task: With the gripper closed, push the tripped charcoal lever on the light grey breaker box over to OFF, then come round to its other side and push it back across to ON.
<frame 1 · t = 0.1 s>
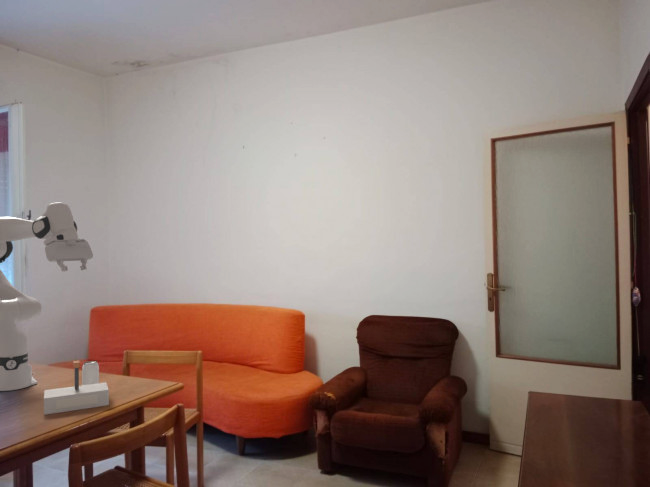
hand: (74, 270, 205), 52 cm above the table, tool tilted 20°, fingers open, 8 cm apart
can: (90, 391, 212), on the table
breaker box: (76, 405, 192), on the table
lever: (76, 375, 192), point 12 cm above the table, hinge at 0.0°
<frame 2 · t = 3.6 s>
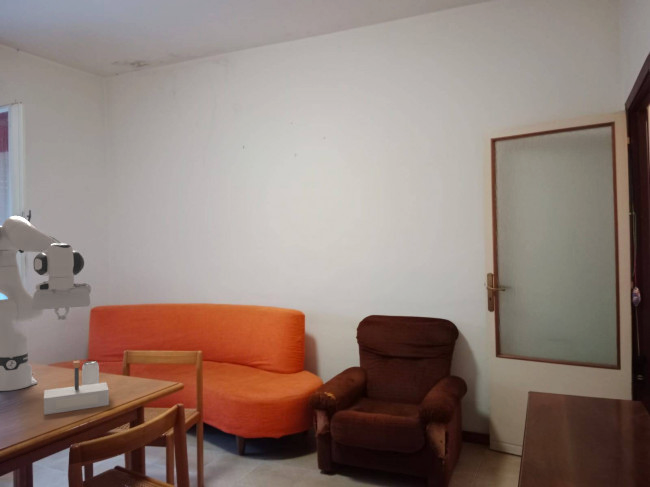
hand: (62, 319, 194), 33 cm above the table, tool pointing down, fingers closed
nothing on the table moved.
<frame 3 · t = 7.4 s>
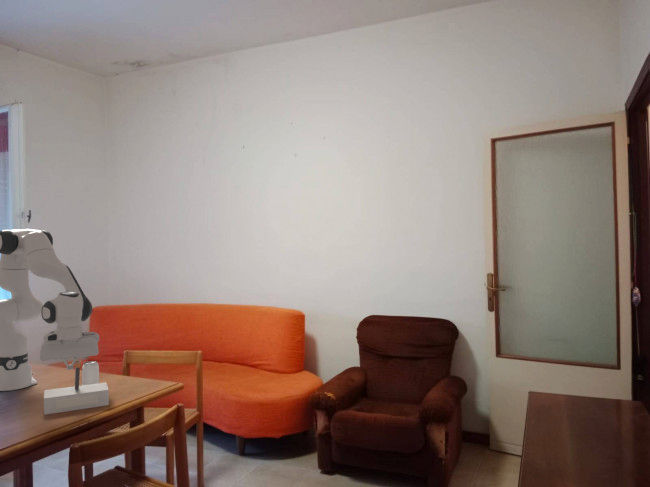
hand: (70, 369, 191), 14 cm above the table, tool pointing down, fingers closed
lever: (77, 375, 193), point 12 cm above the table, hinge at 2.5°, touching gripper
everything else where it was.
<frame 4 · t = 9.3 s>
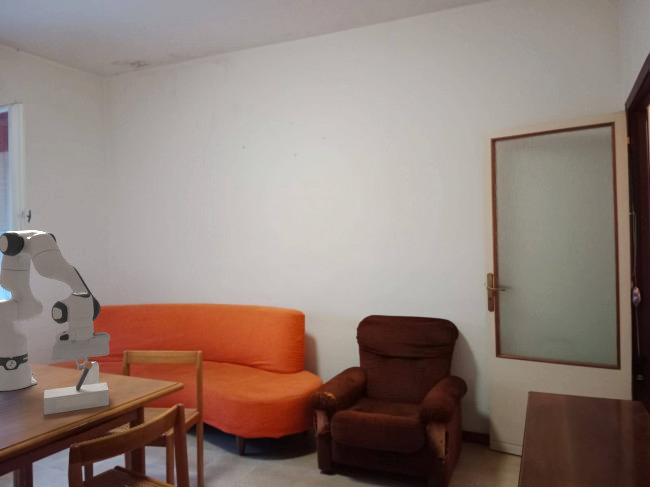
hand: (81, 369, 193), 14 cm above the table, tool pointing down, fingers closed
lever: (83, 376, 194), point 11 cm above the table, hinge at 25.5°, touching gripper
everything else where it was.
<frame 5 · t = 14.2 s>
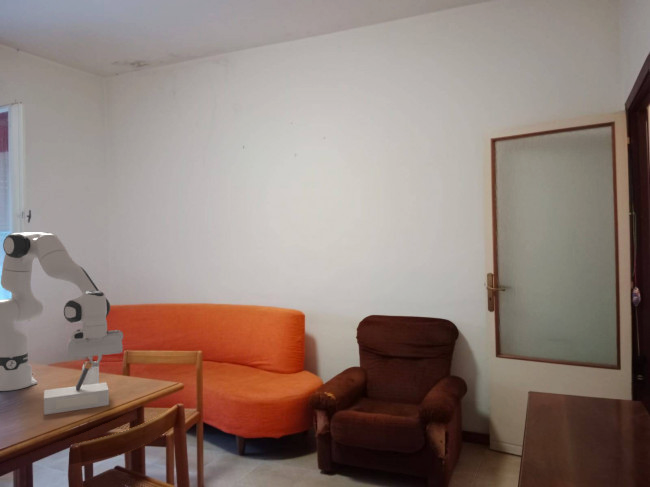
hand: (95, 366, 196), 14 cm above the table, tool pointing down, fingers closed
lever: (83, 375, 194), point 11 cm above the table, hinge at 24.0°, touching gripper
everything else where it was.
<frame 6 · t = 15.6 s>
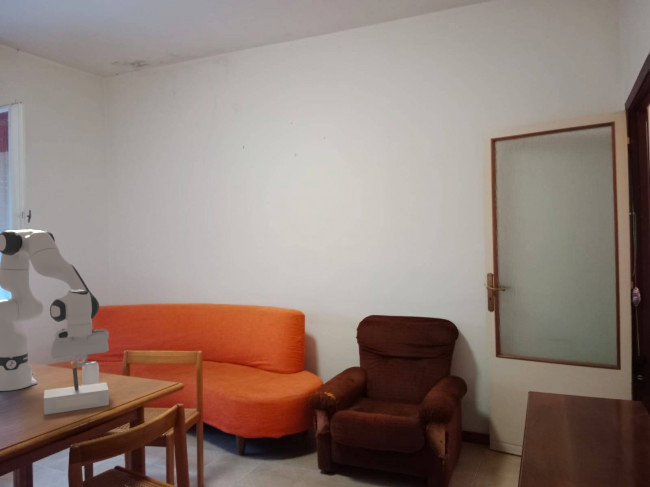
hand: (80, 366, 193), 15 cm above the table, tool pointing down, fingers closed
lever: (75, 375, 192), point 12 cm above the table, hinge at -4.5°, touching gripper
everything else where it was.
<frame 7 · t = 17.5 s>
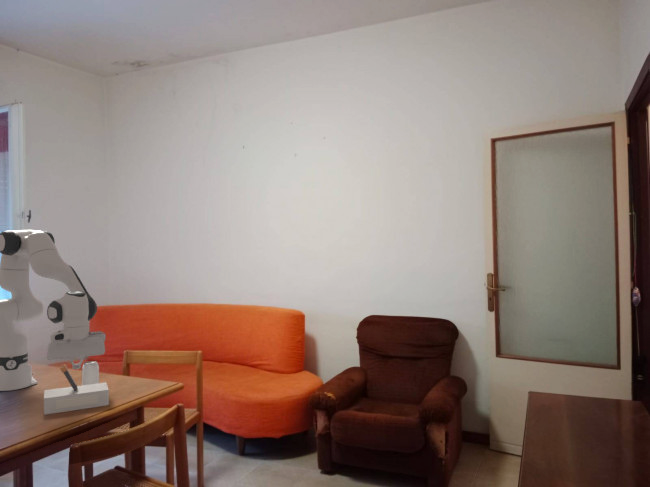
hand: (76, 368, 192), 14 cm above the table, tool pointing down, fingers closed
lever: (69, 377, 191), point 11 cm above the table, hinge at -26.3°
everything else where it was.
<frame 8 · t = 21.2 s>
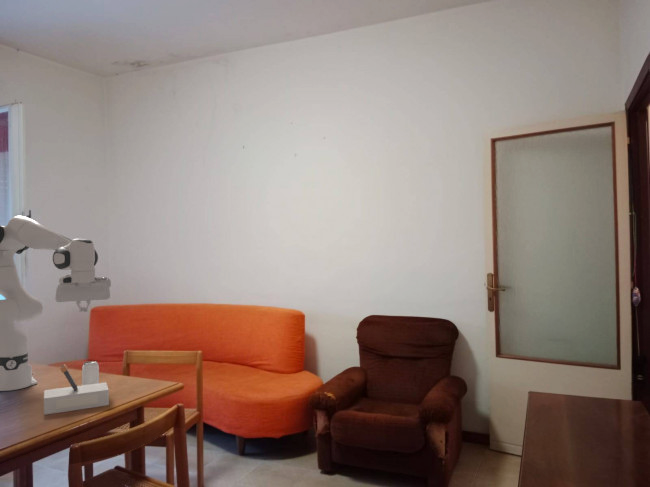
hand: (83, 311, 203), 35 cm above the table, tool pointing down, fingers closed
nothing on the table moved.
at the end: lever at -26° (first picture: +0°); can moved 0.2 cm from its start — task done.
